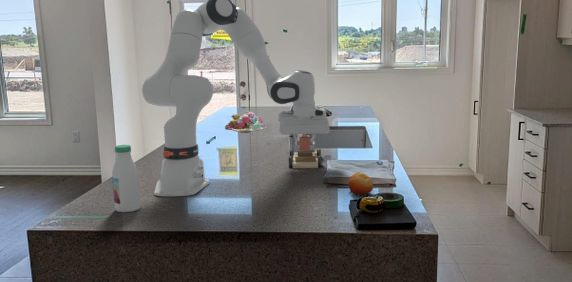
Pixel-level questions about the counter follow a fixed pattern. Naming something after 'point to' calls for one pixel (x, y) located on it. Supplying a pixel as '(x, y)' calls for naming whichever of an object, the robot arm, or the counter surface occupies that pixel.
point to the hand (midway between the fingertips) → (304, 144)
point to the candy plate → (246, 122)
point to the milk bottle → (125, 181)
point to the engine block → (304, 142)
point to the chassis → (305, 157)
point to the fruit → (360, 184)
